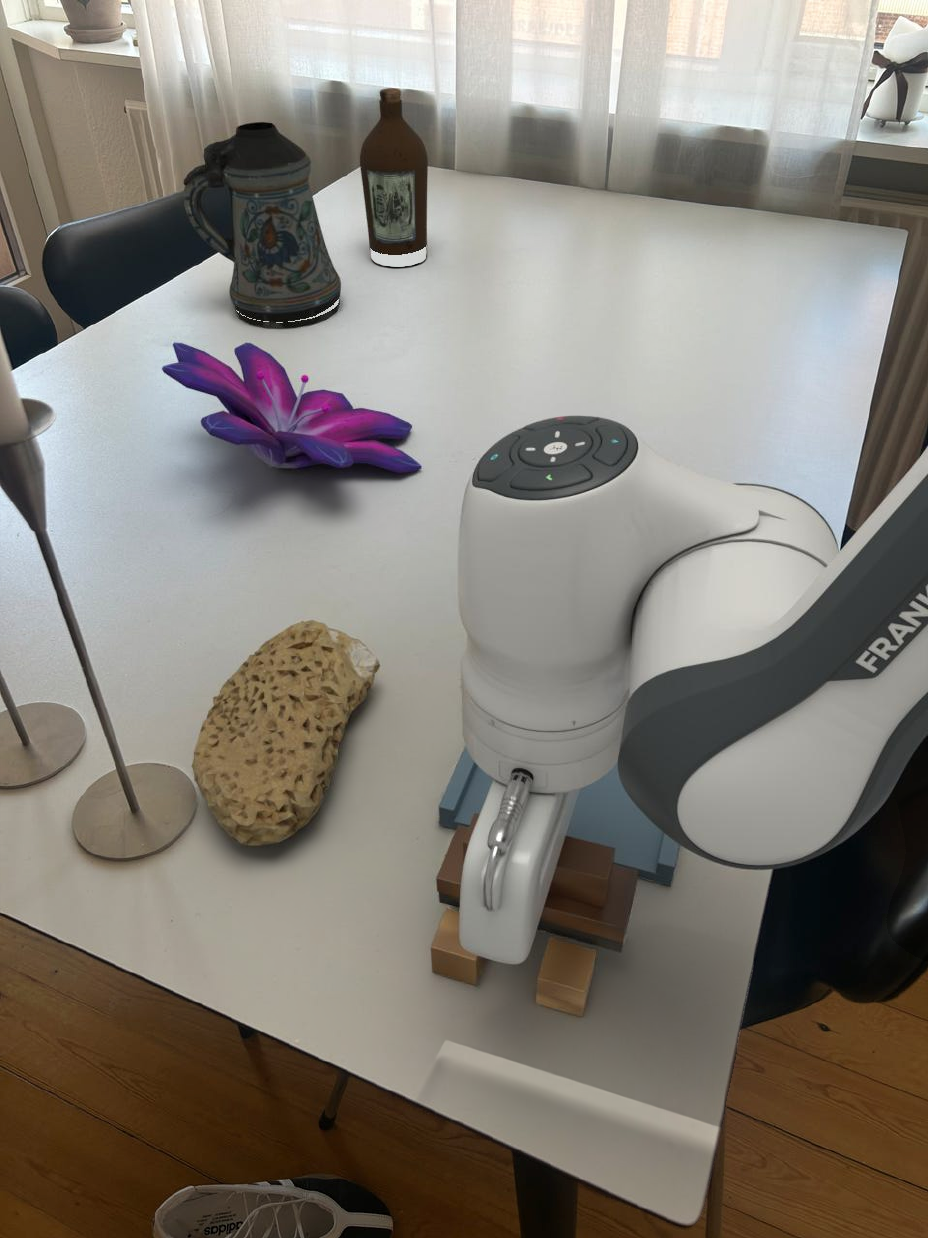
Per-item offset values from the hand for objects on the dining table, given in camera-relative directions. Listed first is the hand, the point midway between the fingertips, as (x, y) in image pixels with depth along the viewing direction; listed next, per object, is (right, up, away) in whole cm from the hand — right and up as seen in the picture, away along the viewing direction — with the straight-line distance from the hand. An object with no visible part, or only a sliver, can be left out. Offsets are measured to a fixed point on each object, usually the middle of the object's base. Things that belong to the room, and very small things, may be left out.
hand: (538, 866), depth 60 cm
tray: (+5, +5, +17) cm, 18 cm away
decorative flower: (-23, +34, +51) cm, 66 cm away
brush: (0, -3, +2) cm, 4 cm away
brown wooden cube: (-5, -6, +1) cm, 7 cm away
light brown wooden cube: (+2, -7, 0) cm, 7 cm away
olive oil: (-16, +75, +101) cm, 127 cm away
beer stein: (-32, +61, +84) cm, 109 cm away
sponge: (-18, +5, +16) cm, 25 cm away
